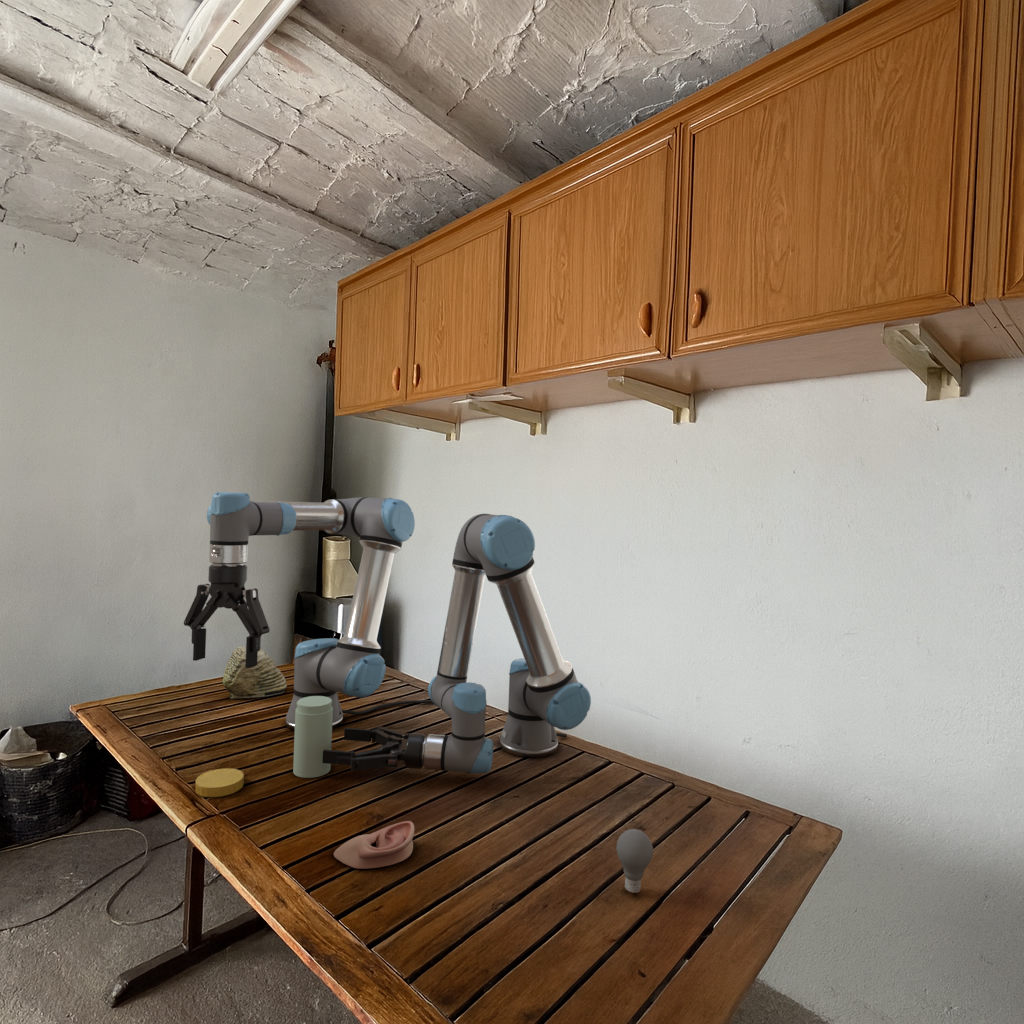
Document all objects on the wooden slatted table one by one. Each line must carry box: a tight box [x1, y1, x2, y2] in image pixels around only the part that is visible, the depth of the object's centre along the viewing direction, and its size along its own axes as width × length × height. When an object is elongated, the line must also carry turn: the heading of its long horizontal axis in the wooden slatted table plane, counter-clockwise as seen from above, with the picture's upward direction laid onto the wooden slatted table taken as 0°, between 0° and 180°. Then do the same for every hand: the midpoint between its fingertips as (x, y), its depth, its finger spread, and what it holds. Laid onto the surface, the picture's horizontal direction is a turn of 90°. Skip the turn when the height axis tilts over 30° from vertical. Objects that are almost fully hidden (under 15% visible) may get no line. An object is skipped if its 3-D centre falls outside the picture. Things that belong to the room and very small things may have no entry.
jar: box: [292, 696, 333, 779], centre depth 146 cm, size 8×8×16 cm
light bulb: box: [615, 828, 654, 894], centre depth 106 cm, size 6×6×10 cm
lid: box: [194, 767, 245, 798], centre depth 136 cm, size 10×10×2 cm
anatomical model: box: [333, 820, 415, 870], centre depth 114 cm, size 13×4×12 cm
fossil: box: [222, 646, 288, 699], centre depth 198 cm, size 9×18×15 cm, turn 132°
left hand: (224, 663), depth 136 cm, fingers open, 13 cm apart
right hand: (334, 744), depth 146 cm, fingers open, 13 cm apart
